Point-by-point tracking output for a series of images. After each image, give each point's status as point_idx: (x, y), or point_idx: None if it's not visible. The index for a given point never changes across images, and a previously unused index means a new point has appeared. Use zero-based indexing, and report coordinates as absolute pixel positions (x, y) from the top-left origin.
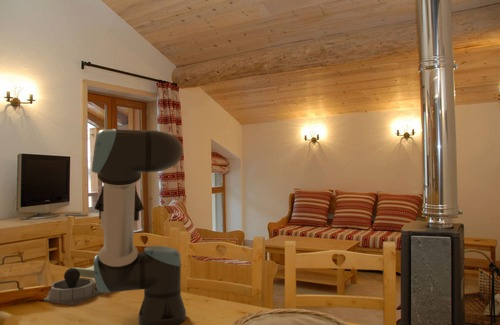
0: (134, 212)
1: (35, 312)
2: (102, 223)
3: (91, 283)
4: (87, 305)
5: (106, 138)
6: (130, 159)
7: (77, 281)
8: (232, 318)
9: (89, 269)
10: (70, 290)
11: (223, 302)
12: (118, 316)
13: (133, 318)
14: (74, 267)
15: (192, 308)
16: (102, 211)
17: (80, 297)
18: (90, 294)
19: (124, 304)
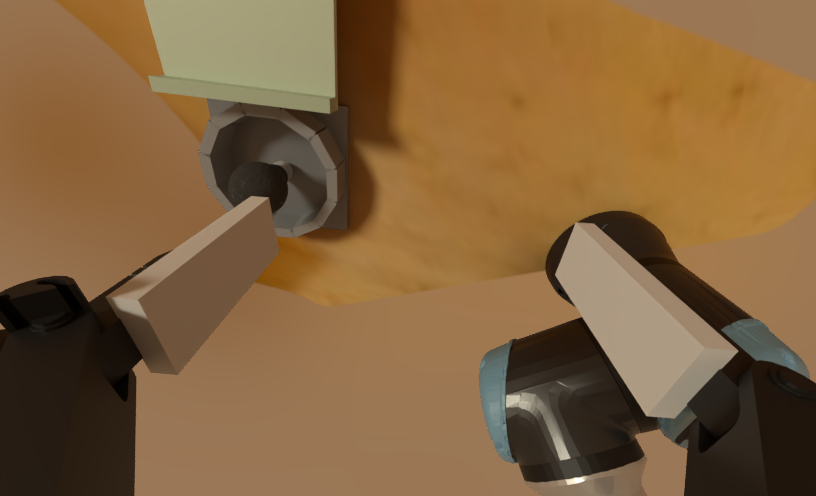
0: (691, 402)
1: (305, 276)
2: (258, 275)
3: (328, 160)
4: (382, 219)
5: None
6: None
7: (285, 178)
8: (782, 220)
9: (245, 94)
10: (317, 227)
11: (798, 101)
12: (492, 261)
13: (530, 264)
14: (153, 77)
15: (677, 178)
16: (159, 362)
17: (339, 199)
18: (344, 166)
19: (472, 192)
